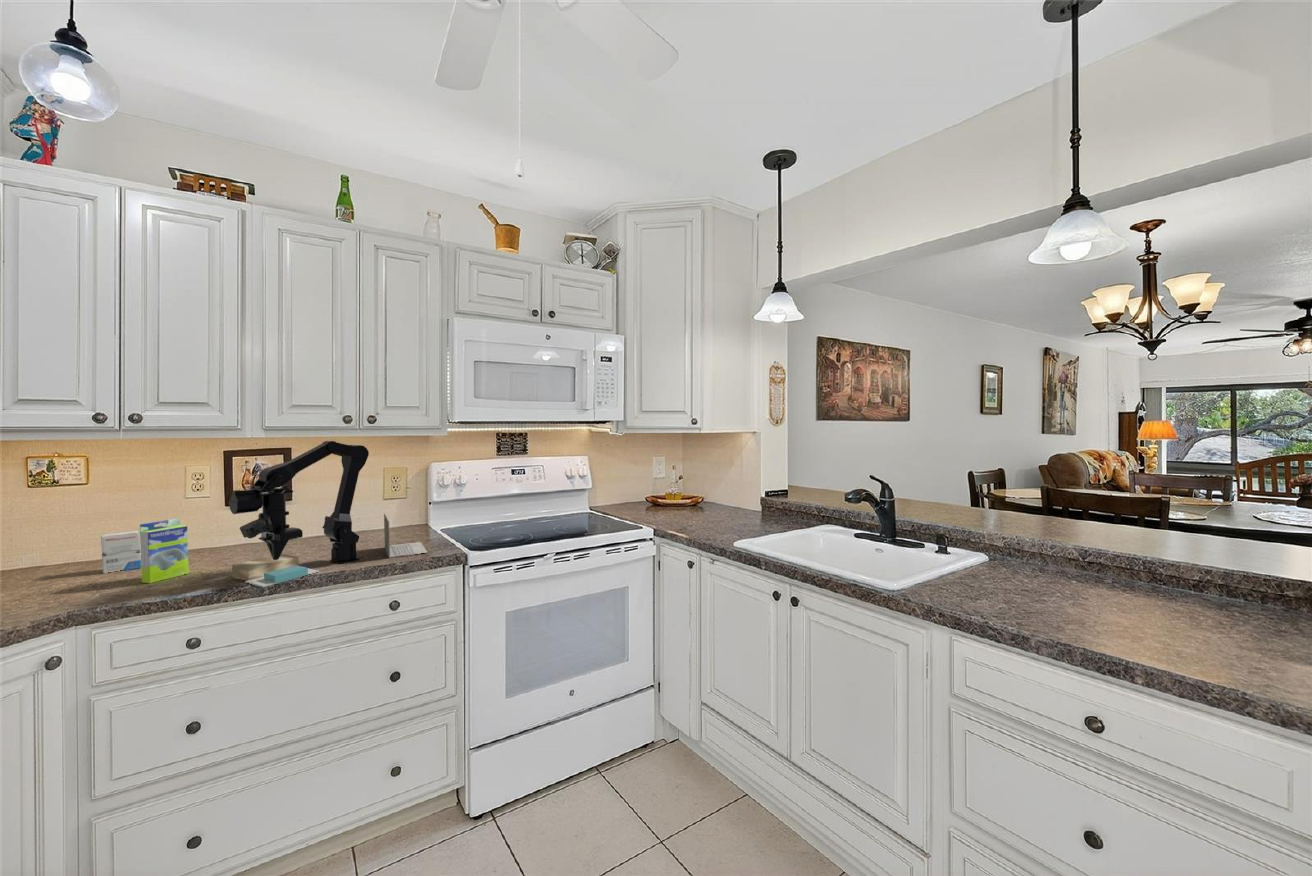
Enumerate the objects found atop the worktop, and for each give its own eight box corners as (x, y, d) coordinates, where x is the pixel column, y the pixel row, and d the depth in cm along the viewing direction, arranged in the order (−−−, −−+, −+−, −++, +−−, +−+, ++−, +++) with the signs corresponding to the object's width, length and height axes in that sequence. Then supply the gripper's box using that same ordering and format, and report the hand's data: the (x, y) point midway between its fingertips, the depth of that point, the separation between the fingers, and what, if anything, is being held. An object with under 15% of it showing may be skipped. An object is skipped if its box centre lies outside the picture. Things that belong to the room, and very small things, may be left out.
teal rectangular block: (307, 567, 160) (307, 574, 160) (296, 565, 162) (296, 571, 162) (275, 575, 152) (275, 582, 152) (264, 573, 154) (264, 579, 154)
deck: (282, 565, 171) (282, 553, 170) (298, 569, 167) (298, 557, 166) (232, 577, 158) (232, 564, 158) (248, 581, 154) (248, 568, 154)
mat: (302, 568, 167) (302, 567, 167) (319, 572, 163) (319, 570, 163) (245, 583, 153) (245, 581, 153) (262, 587, 149) (262, 585, 149)
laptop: (428, 554, 186) (427, 517, 185) (388, 559, 179) (387, 521, 179) (421, 543, 201) (420, 510, 201) (384, 548, 195) (383, 513, 194)
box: (149, 584, 152) (146, 525, 152) (140, 582, 154) (137, 524, 153) (190, 573, 162) (188, 518, 162) (181, 572, 164) (179, 517, 163)
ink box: (141, 565, 172) (139, 530, 171) (141, 568, 168) (139, 532, 168) (103, 570, 166) (101, 534, 165) (102, 574, 162) (100, 536, 162)
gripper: (226, 510, 156) (228, 562, 157) (261, 516, 148) (263, 570, 148) (268, 505, 166) (269, 553, 167) (302, 509, 158) (304, 561, 158)
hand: (275, 559), depth 160 cm, fingers closed
